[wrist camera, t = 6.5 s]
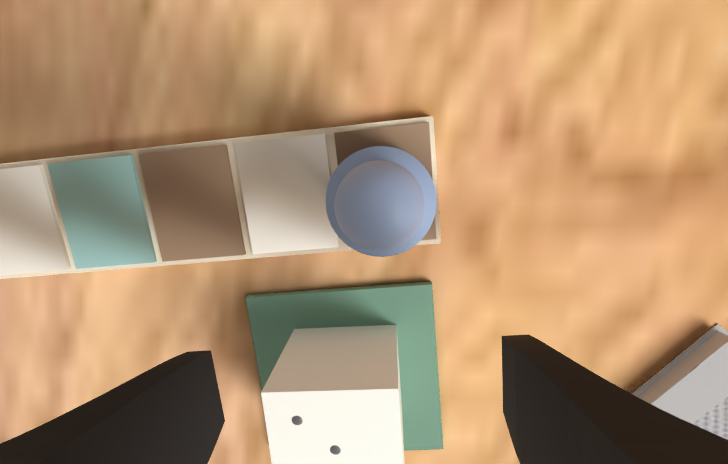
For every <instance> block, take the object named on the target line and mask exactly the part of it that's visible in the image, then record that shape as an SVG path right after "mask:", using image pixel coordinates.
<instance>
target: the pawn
mask: <svg viewBox="0 0 728 464" xmlns="http://www.w3.org/2000/svg"><path fill="white" fill-rule="evenodd" d="M436 204H437V199H436V191H435V186H434V183H433V181H432V178H431V176H430V175H429V173H428V171H427V170H426V168H425V167H424V166H423V165H422V164H421V163H420V162H419V161H418V160H417V159H416V158H415V157H413V156H412V155H410V154H409V153H407V152H405V151H403V150H401V149H398V148H394V147H387V146H374V147H368V148H365V149H362V150H359V151H357V152H355V153H353V154H351V155H350V156H348V157H347V158H346V159H345V160H343V161H342V162H341V163H340V164H339V166H338V167H337V168H336V170H335V171H334V173H333V174H332V176H331V178H330V181H329V183H328V186H327V190H326V212H327V216H328V219H329V222H330V224H331V226H332V228H333V230H334V231H335V233H336V234H337V235H338V237H339V238H340V239H341V240H342V241H343V242H344V243H345V244H347V245H348V246H349V247H351V248H352V249H354V250H356V251H358V252H360V253H363V254H366V255H370V256H380V257H384V256H392V255H397V254H399V253H402V252H404V251H406V250H408V249H410V248H412V247H413V246H415V245H416V244H417V243H418V242H419V241H420V240H421V239H422V238H423V237H424V236H425V235H426V233H427V232H428V230H429V229H430V227H431V225H432V222H433V220H434V217H435V212H436Z"/></svg>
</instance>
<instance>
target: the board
mask: <svg viewBox="0 0 728 464" xmlns="http://www.w3.org/2000/svg"><path fill="white" fill-rule="evenodd" d="M374 146H387V147H394V148H398V149H401V150H403V151H405V152H407V153H409V154H410V155H412V156H413V157H415V158H416V159H417V160H418V161H419V162H420V163H421V164H422V165H423V166H424V167H425V168H426V170H427V171H428V173H429V175H430V176H431V178H432V181H433V183H434V186H435V191H436V199H437V204H436V212H435V217H434V220H433V222H432V225H431V227H430V229H429V230H428V232H427V233H426V235H425V236H424V237H423V238H422V239H421V240H420V241H419V242H418V243H417V244H416V245H423V244H435V243H441V237H440V221H439V205H438V189H437V172H436V156H435V140H434V124H433V116H428V117H419V118H410V119H401V120H392V121H383V122H374V123H365V124H356V125H347V126H337V127H328V128H319V129H310V130H301V131H292V132H283V133H274V134H265V135H256V136H247V137H238V138H229V139H220V140H211V141H202V142H193V143H183V144H174V145H165V146H156V147H147V148H138V149H129V150H120V151H111V152H102V153H93V154H84V155H75V156H66V157H57V158H48V159H39V160H29V161H20V162H11V163H2V164H0V279H6V278H19V277H31V276H43V275H55V274H68V273H80V272H92V271H104V270H117V269H129V268H141V267H153V266H166V265H178V264H190V263H202V262H215V261H227V260H239V259H252V258H264V257H276V256H288V255H301V254H313V253H325V252H337V251H350V250H354V249H352V248H351V247H349V246H348V245H347V244H345V243H344V242H343V241H342V240H341V239H340V238H339V237H338V235H337V234H336V233H335V231H334V230H333V228H332V226H331V224H330V222H329V219H328V216H327V212H326V190H327V186H328V183H329V181H330V178H331V176H332V174H333V173H334V171H335V170H336V168H337V167H338V166H339V164H340V163H341V162H342V161H343V160H345V159H346V158H347V157H348V156H350V155H351V154H353V153H355V152H357V151H359V150H362V149H365V148H368V147H374Z"/></svg>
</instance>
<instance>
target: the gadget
mask: <svg viewBox="0 0 728 464" xmlns="http://www.w3.org/2000/svg"><path fill="white" fill-rule="evenodd" d="M632 394H633V395H634V396H636V397H638V398H640V399H642V400H644V401H646V402H648V403H650V404H652V405H653V406H655V407H657V408H659V409H661V410H664V411H666V412H668V413H670V414H672V415H674V416H676V417H678V418H680V419H682V420H685V421H687V422H689V423H691V424H694V425H696V426H698V427H700V428H702V429H705V430H707V431H709V432H711V433H713V434H716V435H718V436H720V437H722V438H725V439H727V440H728V332H727V331H726V330H725V329H723V328H722V327H721V326H720V325H719V324H716V325H715V326H713V327H712V328H711V329H710V330H709V331H707V332H706V333H705V334H704V335H703V336H701V337H700V338H699V339H698V340H696V341H695V342H694V343H693V344H692V345H690V346H689V347H688V348H687V349H686V350H684V351H683V352H682V353H681V354H679V355H678V356H677V357H676V358H675V359H673V360H672V361H671V362H670V363H668V364H667V365H666V366H665V367H664V368H662V369H661V370H660V371H659V372H658V373H656V374H655V375H654V376H653V377H651V378H650V379H649V380H648V381H647V382H645V383H644V384H643V385H642V386H640V387H639V388H638V389H637V390H636V391H634V392H633V393H632Z"/></svg>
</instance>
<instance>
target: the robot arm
mask: <svg viewBox="0 0 728 464" xmlns="http://www.w3.org/2000/svg"><path fill="white" fill-rule="evenodd" d="M502 372H503V413H504V416H505V419H506V423H507V426H508V429H509V433H510V436H511V439H512V442H513V445H514V448H515V451H516V454H517V457H518V459H519V461H520V464H728V440H727V439H725V438H722V437H720V436H718V435H716V434H713V433H711V432H709V431H707V430H705V429H702V428H700V427H698V426H696V425H694V424H691V423H689V422H687V421H685V420H682V419H680V418H678V417H676V416H674V415H672V414H670V413H668V412H666V411H664V410H661V409H659V408H657V407H655V406H653V405H652V404H650V403H648V402H646V401H644V400H642V399H640V398H638V397H636V396H634V395H633V394H631V393H629V392H627V391H625V390H623V389H621V388H619V387H618V386H616V385H614V384H612V383H610V382H609V381H607V380H605V379H603V378H602V377H600V376H598V375H596V374H595V373H593V372H591V371H590V370H588V369H586V368H584V367H583V366H581V365H579V364H578V363H576V362H574V361H573V360H571V359H569V358H568V357H566V356H565V355H563V354H561V353H560V352H558V351H556V350H555V349H553V348H551V347H550V346H548V345H546V344H545V343H543V342H541V341H540V340H538V339H536V338H534V337H532V336H530V335H513V336H502ZM224 422H225V419H224V414H223V409H222V404H221V399H220V394H219V389H218V384H217V379H216V374H215V369H214V364H213V359H212V354H211V351H193V352H186V353H184V354H181V355H178V356H176V357H174V358H172V359H170V360H168V361H166V362H164V363H162V364H160V365H158V366H156V367H154V368H152V369H150V370H148V371H146V372H144V373H142V374H140V375H138V376H137V377H135V378H133V379H131V380H129V381H127V382H125V383H123V384H122V385H120V386H118V387H116V388H114V389H112V390H110V391H108V392H107V393H105V394H103V395H101V396H99V397H97V398H95V399H93V400H91V401H89V402H87V403H85V404H83V405H81V406H79V407H77V408H75V409H73V410H71V411H69V412H67V413H65V414H63V415H61V416H59V417H57V418H55V419H53V420H51V421H49V422H47V423H45V424H43V425H41V426H39V427H37V428H35V429H33V430H30V431H28V432H26V433H24V434H22V435H19V436H17V437H15V438H13V439H10V440H8V441H6V442H4V443H1V444H0V464H207V463H208V461H209V459H210V457H211V454H212V452H213V450H214V447H215V445H216V442H217V440H218V437H219V435H220V432H221V429H222V427H223V424H224Z"/></svg>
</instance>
